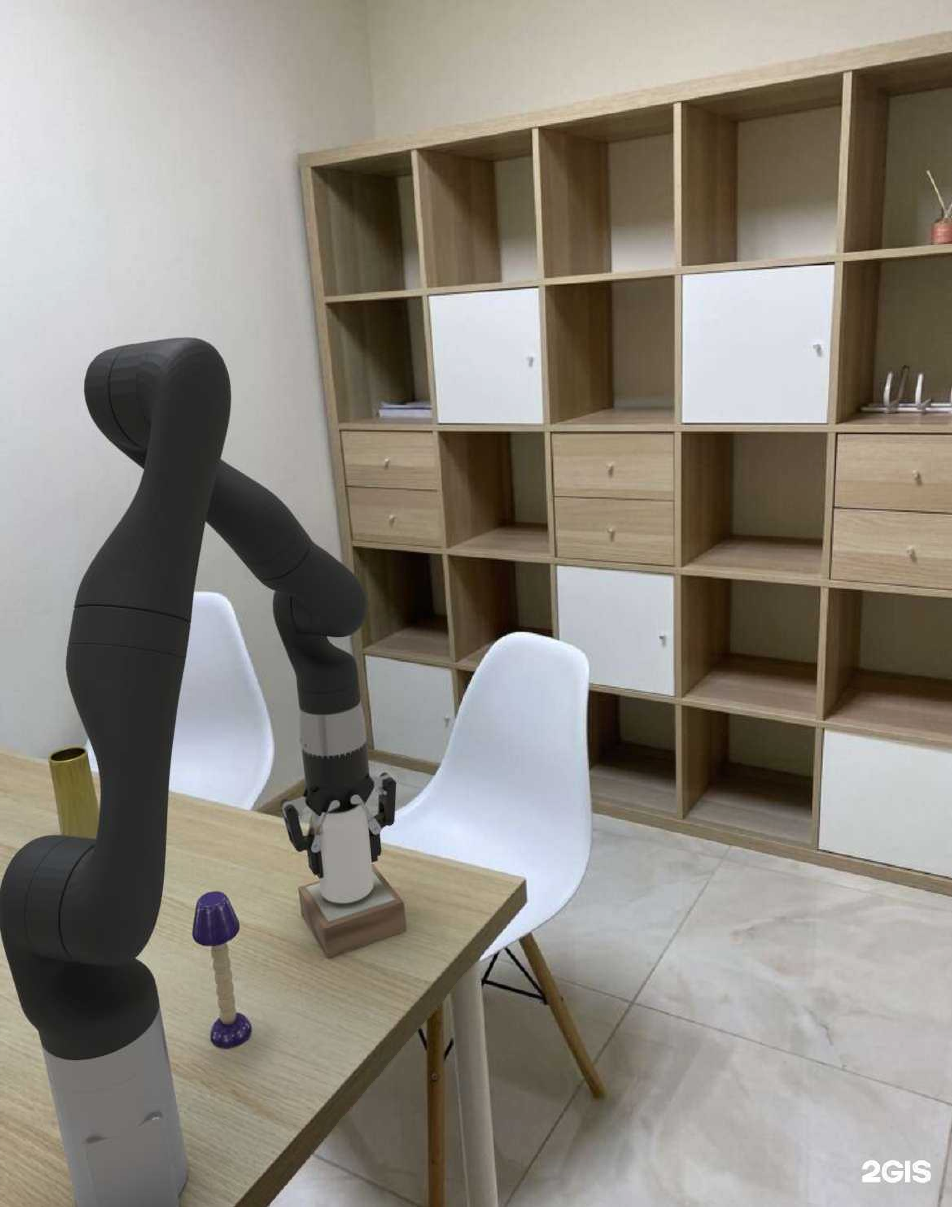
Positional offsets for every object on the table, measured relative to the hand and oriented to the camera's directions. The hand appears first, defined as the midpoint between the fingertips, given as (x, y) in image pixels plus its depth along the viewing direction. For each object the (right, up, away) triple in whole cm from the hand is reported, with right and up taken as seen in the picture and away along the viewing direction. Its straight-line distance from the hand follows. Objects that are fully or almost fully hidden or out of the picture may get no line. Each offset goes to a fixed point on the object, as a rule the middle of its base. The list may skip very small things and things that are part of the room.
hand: (346, 866), depth 116 cm
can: (0, -3, +1) cm, 3 cm away
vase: (-42, -3, +25) cm, 49 cm away
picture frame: (0, -8, +2) cm, 8 cm away
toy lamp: (-10, -14, -16) cm, 23 cm away
